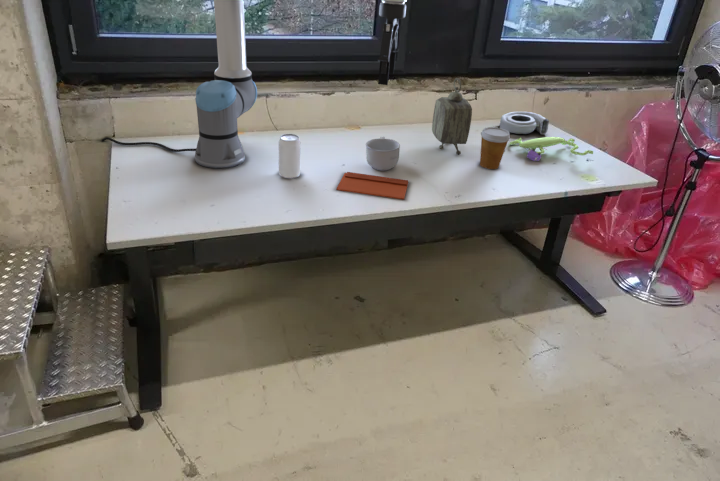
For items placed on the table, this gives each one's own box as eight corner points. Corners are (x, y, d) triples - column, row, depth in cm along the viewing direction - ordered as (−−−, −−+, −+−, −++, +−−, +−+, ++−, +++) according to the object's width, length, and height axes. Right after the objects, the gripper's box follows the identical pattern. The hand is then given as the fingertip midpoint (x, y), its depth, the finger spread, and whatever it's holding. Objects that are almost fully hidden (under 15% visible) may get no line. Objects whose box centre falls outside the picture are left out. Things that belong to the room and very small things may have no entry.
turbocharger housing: (492, 126, 221) (509, 139, 209) (494, 110, 218) (511, 123, 205) (530, 123, 224) (548, 135, 212) (532, 107, 221) (551, 119, 209)
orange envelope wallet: (336, 190, 157) (336, 187, 157) (344, 174, 168) (344, 171, 167) (403, 199, 155) (404, 196, 154) (408, 182, 165) (408, 180, 165)
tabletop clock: (464, 157, 186) (477, 85, 174) (439, 157, 185) (450, 84, 172) (452, 142, 199) (463, 73, 186) (428, 141, 197) (438, 72, 184)
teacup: (394, 175, 169) (397, 151, 165) (361, 170, 170) (363, 147, 166) (400, 159, 181) (403, 136, 177) (369, 155, 182) (371, 132, 178)
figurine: (593, 167, 187) (598, 152, 184) (517, 161, 187) (520, 146, 184) (576, 147, 203) (581, 133, 200) (506, 142, 202) (509, 127, 199)
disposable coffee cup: (506, 164, 184) (513, 130, 178) (500, 173, 176) (507, 138, 170) (478, 158, 187) (485, 124, 181) (471, 167, 179) (478, 132, 173)
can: (283, 180, 161) (283, 142, 154) (275, 171, 165) (275, 134, 159) (303, 177, 163) (303, 139, 157) (295, 169, 168) (295, 132, 162)
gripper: (401, 9, 140) (393, 90, 151) (411, -2, 161) (403, 70, 172) (372, 6, 141) (366, 87, 151) (386, -4, 162) (380, 68, 173)
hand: (386, 78), depth 162 cm, fingers open, 13 cm apart
